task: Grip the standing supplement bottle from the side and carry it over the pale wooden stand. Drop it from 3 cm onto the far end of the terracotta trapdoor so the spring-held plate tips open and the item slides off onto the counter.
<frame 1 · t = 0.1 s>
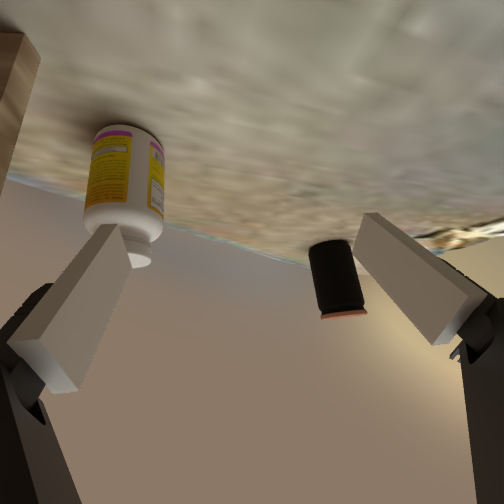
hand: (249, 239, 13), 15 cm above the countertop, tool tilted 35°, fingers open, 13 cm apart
supplement bottle: (132, 146, 26), on the countertop
coffee jar: (327, 246, 63), on the countertop
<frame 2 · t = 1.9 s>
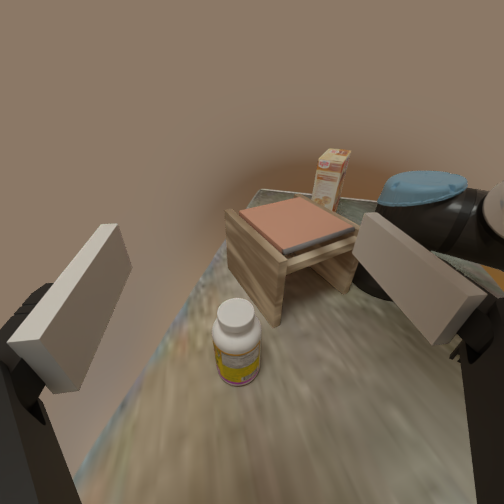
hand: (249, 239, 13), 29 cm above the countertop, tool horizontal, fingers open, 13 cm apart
supplement bottle: (238, 366, 37), on the countertop
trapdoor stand: (284, 279, 53), on the countertop
trapdoor: (293, 221, 44), point 15 cm above the countertop, hinge at 0.0°
coffeecake box: (323, 215, 80), on the countertop
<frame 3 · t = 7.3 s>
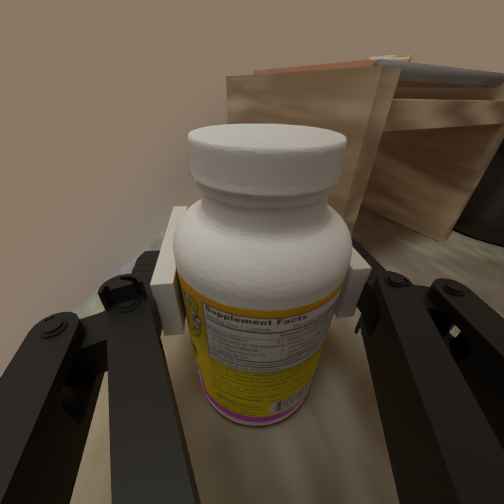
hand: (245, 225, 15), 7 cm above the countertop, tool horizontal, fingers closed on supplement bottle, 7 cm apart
supplement bottle: (254, 369, 15), on the countertop, touching gripper
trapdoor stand: (327, 220, 31), on the countertop
trapdoor: (364, 78, 22), point 15 cm above the countertop, hinge at 0.0°
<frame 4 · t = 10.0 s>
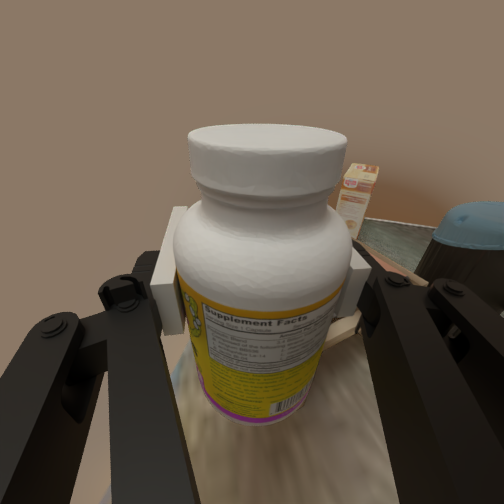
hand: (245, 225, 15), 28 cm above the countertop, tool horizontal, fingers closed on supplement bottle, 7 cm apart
supplement bottle: (254, 369, 14), point 21 cm above the countertop, touching gripper
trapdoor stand: (304, 329, 42), on the countertop
trapdoor: (323, 263, 33), point 15 cm above the countertop, hinge at 0.0°
coffeecake box: (343, 239, 69), on the countertop
when the fingers open (25 cm above the countertop, at t = 12.6 s): supplement bottle drops 6 cm, resting on trapdoor.
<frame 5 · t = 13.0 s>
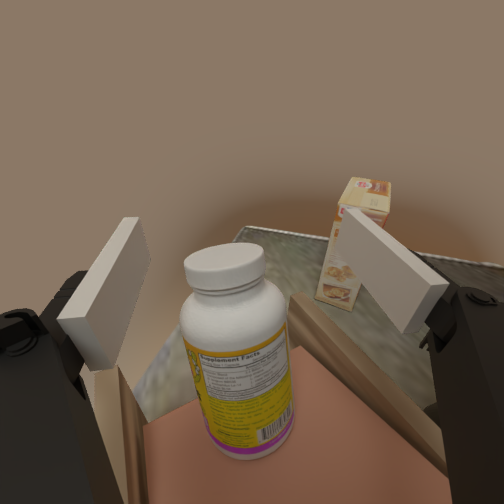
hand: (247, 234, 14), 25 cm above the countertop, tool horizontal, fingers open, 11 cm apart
supplement bottle: (251, 417, 18), point 12 cm above the countertop, touching trapdoor
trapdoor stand: (264, 502, 23), on the countertop
trapdoor: (283, 474, 15), point 13 cm above the countertop, hinge at -17.3°, touching supplement bottle
coffeecake box: (339, 283, 49), on the countertop
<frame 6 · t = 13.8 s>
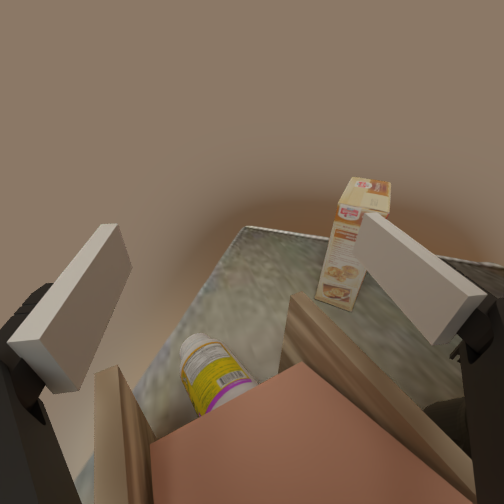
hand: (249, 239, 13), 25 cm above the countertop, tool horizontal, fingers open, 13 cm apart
supplement bottle: (243, 423, 23), point 6 cm above the countertop, touching trapdoor
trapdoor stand: (264, 502, 23), on the countertop
trapdoor: (285, 484, 15), point 12 cm above the countertop, hinge at -24.7°, touching supplement bottle
coffeecake box: (339, 283, 49), on the countertop
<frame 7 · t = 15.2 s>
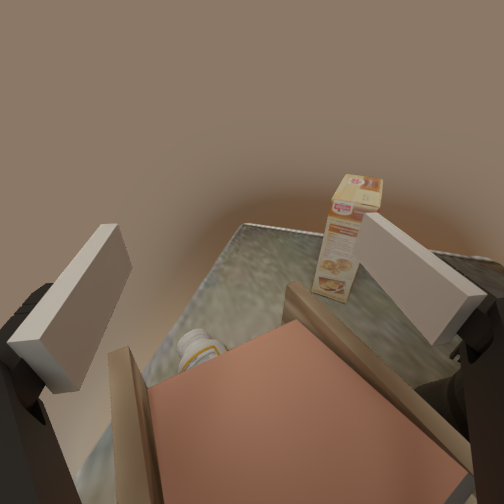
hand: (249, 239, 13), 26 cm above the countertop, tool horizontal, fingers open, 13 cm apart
supplement bottle: (242, 433, 25), point 3 cm above the countertop
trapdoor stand: (263, 475, 24), on the countertop
trapdoor: (279, 430, 16), point 14 cm above the countertop, hinge at -11.2°
coffeecake box: (334, 276, 51), on the countertop
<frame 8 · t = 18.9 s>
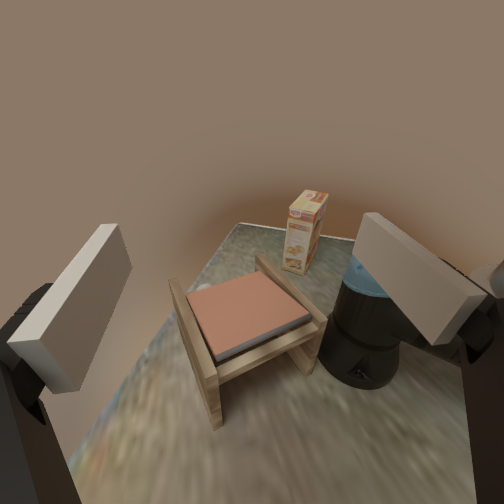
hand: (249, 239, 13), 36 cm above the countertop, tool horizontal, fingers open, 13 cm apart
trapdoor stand: (241, 352, 47), on the countertop
trapdoor: (243, 306, 39), point 14 cm above the countertop, hinge at -9.7°
coffeecake box: (299, 259, 74), on the countertop
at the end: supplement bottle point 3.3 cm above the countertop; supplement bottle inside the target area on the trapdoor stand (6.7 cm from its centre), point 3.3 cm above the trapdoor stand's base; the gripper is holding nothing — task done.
